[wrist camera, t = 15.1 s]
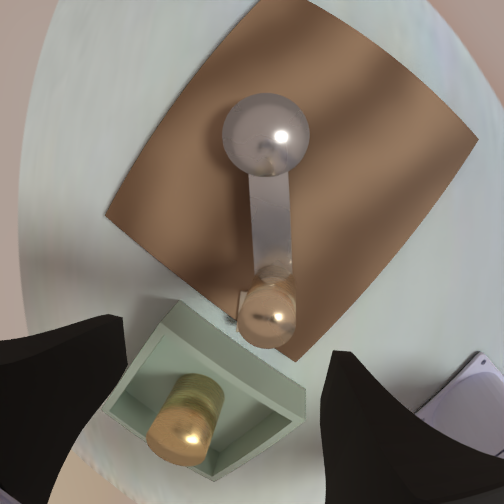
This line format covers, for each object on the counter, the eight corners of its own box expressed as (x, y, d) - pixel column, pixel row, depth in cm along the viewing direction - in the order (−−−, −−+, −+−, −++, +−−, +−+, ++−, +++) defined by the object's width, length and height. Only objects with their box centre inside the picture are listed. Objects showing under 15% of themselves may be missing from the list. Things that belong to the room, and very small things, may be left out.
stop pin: (235, 395, 22) (218, 453, 16) (205, 419, 23) (184, 472, 17) (192, 364, 22) (164, 417, 16) (165, 390, 23) (136, 440, 17)
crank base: (471, 140, 16) (480, 139, 15) (290, 359, 21) (290, 369, 20) (277, -9, 15) (276, -18, 14) (109, 219, 21) (99, 222, 19)
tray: (305, 389, 22) (305, 420, 18) (222, 454, 25) (214, 481, 21) (179, 300, 21) (160, 322, 18) (119, 386, 24) (101, 409, 21)
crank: (227, 104, 17) (194, 73, 11) (305, 98, 16) (309, 62, 10) (240, 296, 19) (216, 347, 13) (313, 295, 19) (319, 348, 13)
